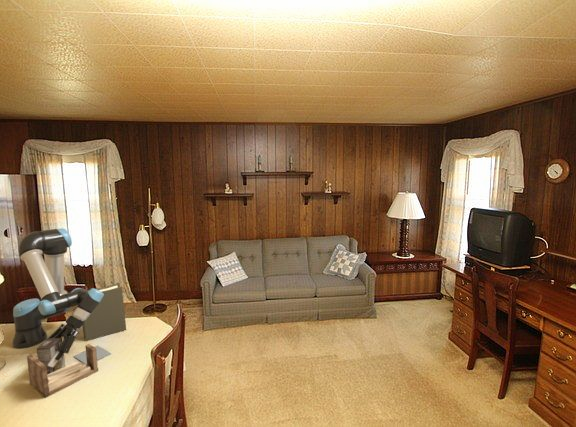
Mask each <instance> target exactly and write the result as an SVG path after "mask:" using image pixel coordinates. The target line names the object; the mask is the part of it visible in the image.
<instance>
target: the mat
mask: <svg viewBox="0 0 576 427" xmlns="http://www.w3.org/2000/svg"><path fill="white" fill-rule="evenodd" d="M94 347H95V348H96V352H97V362H98V361H100V360H103V359H104V358H106V357H108V356H110V355H112V352H110V351H108V350H107V349H105V348H103V347H101V346H99V345H95V346H94ZM73 358H75V359H76V360H78V362H82V363H84V364H86V365H87V358H86V350H84V351H82V352H80V353H77V354H74V355H73Z"/></svg>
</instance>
